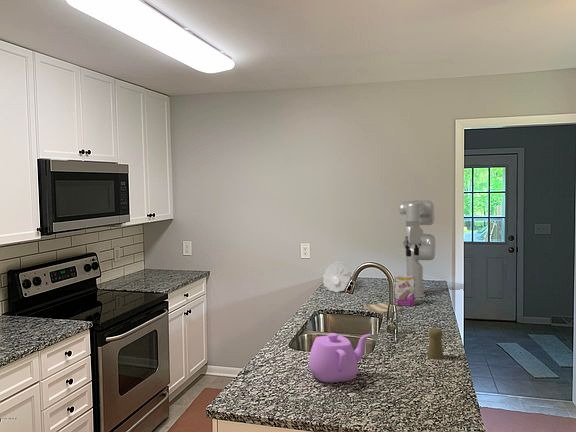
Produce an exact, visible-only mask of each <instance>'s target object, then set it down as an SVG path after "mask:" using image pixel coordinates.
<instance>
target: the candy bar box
mask: <svg viewBox="0 0 576 432" xmlns="http://www.w3.org/2000/svg"><path fill="white" fill-rule="evenodd" d="M414 288H415V277H414V276H407V275H393V292H394V291H395V303H396V305H395V306H398V307H403V306H405V307H407V306H408V307H414V306H415V298H414Z"/></svg>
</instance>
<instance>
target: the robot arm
mask: <svg viewBox="0 0 576 432" xmlns="http://www.w3.org/2000/svg"><path fill="white" fill-rule="evenodd" d="M398 212H399V214H400V215H401V216H403V215H404V216H405V227H404V232H403V242H402V245H403V246H404V248H405V249H404V251H405V252H404V253H405V259H406V276H414V277H415V288H414V299H415V298H417V299H418V298H424V297H425V296H426V293H424V292H427V291H428V288H427V287H423V286H424V284H423V283H424V281H423V280H424V279H423V278H424V276H423V275H424V273H423V272H424V271H423V270H424V269H423V265H422V264H421V262H420V261H433V260H434V259H435V256H436V237H435V236H434V235H433V234H431V233H428V234H427V233H424V230H423V229H422V228H421V226H432V225H434V223H435V207H434V203H433V202H432V201H431V200H427V199H424V200H423V199H422V200H421V199H420V200H419V199H418V200H417V199H416V200H408V201H406V200H405V201H400V203H399V204H398Z"/></svg>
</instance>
